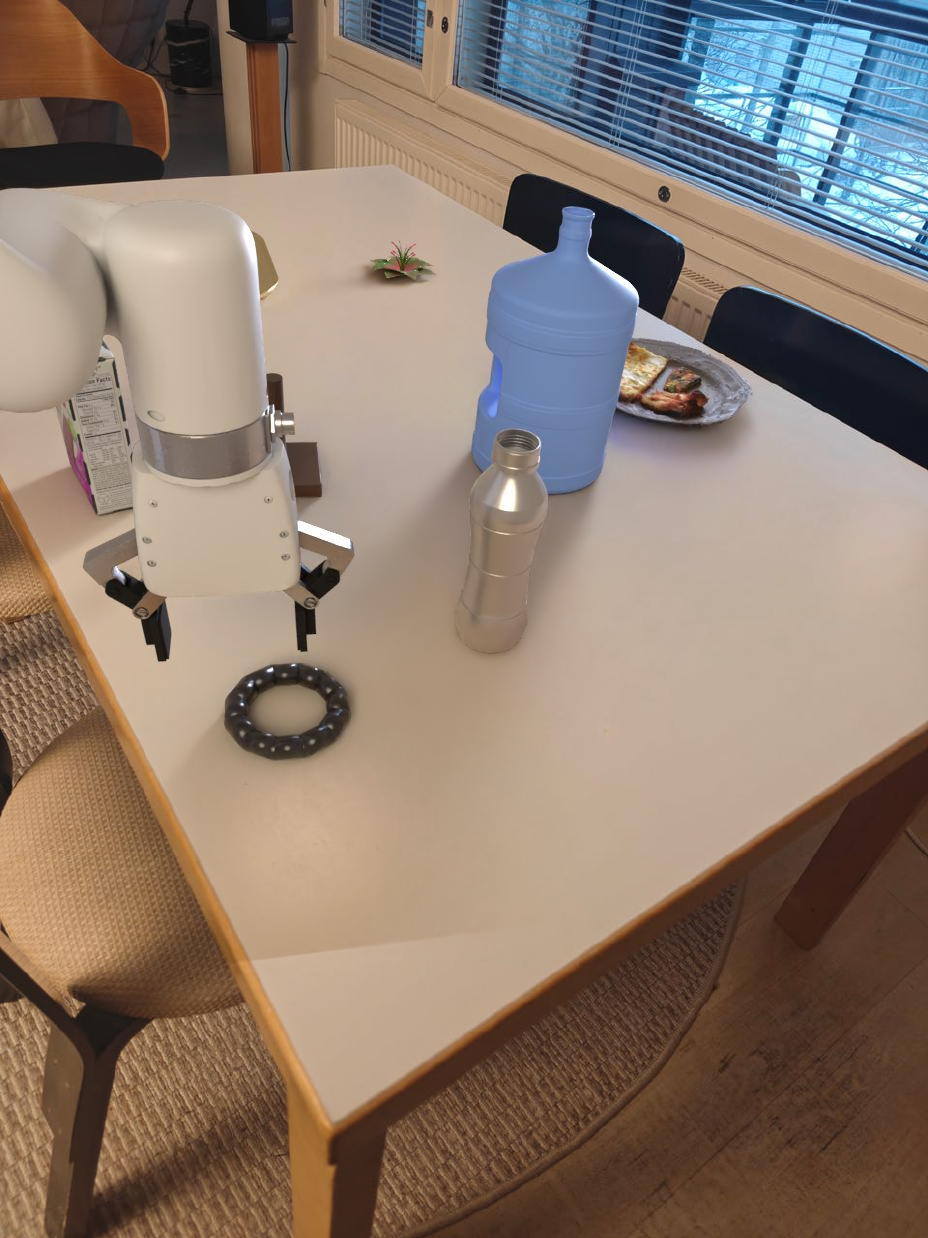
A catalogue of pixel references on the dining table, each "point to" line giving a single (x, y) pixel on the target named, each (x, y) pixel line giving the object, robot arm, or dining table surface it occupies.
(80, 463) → the candy bar box
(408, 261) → the lily flower
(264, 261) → the serving platter
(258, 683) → the ring
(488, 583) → the plastic bottle
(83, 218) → the robot arm
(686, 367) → the food plate
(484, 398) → the water jug
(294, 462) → the post
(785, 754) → the dining table surface
